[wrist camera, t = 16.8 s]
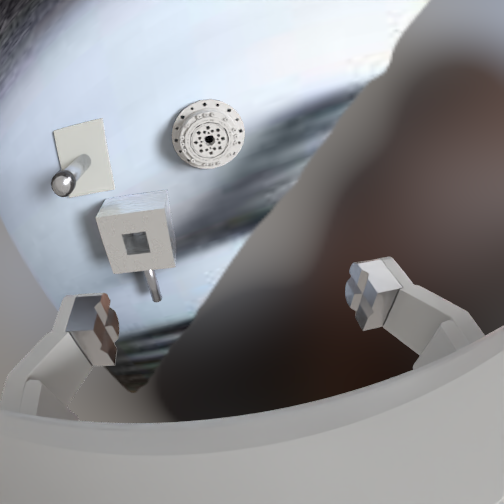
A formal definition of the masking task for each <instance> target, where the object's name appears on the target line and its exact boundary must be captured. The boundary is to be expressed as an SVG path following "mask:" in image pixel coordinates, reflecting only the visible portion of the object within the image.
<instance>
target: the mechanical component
mask: <svg viewBox="0 0 504 504" xmlns="http://www.w3.org/2000/svg"><path fill="white" fill-rule="evenodd" d="M204 102H205V103H206V105H204V106H203V103H204ZM216 104H219V105H218V106H217V105H216ZM192 107H193V109H191V108H192ZM227 109H230V111H229V112H228V111H227ZM182 115H183V116H185V117H184V118H182V117H181V116H182ZM236 119H237V120H236ZM207 126H208V127H207ZM177 127H178V128H177ZM216 129H219V130H216ZM225 129H226V130H225ZM240 129H241V131H239V130H240ZM198 131H199V133H198ZM226 131H227V133H226ZM218 134H219V135H218ZM210 135H212V137H211V138H205V136H210ZM199 137H200V138H199ZM213 137H214V140H213V142H211V143H210V142H208V143H207V142H205V140H206V141H209V140H212V139H213ZM244 137H245V129H244V125H243V121H242V119H241V117H240V116H239V114H238V113H237V112H236V110H235V109H233V108H232V107H231V106H229V105H228V104H227V103H224V102H222V101H219V100H213V99H208V100H199V101H197V102H194V103H192V104H190V105H189V106H187V107H186V108H185V109H183V110H182V112H181V113H180V114H179V115H178V117H177V118H176V121H175V123H174V125H173V129H172V143H173V146H174V149H175V151H176V152H177V154H178V155H179V156H180V158H181V159H182V160H184V161H185V162H186V163H188V164H189V165H191V166H194V167H197V168H201V169H213V168H216V167H219V166H223V165H225V164H226V163H228V162H229V161H231V160H232V159H233V158H234V157H235V156H236V155H237V154H238V152H239V151H240V150H241V147H242V145H243V142H244ZM175 139H178V140H177V141H176V140H175ZM238 141H239V142H238ZM180 150H181V151H180ZM187 158H188V159H187Z"/></svg>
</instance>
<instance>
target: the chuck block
mask: <svg viewBox="0 0 504 504" xmlns="http://www.w3.org/2000/svg"><path fill="white" fill-rule="evenodd" d="M96 222H97V225H98V228H99V231H100V235H101V238H102V241H103V244H104V247H105V250H106V253H107V256H108V259H109V262H110V265H111V267H112V270H113V273H114V274H118V273H127V272H137V271H144V274H145V277H146V281H147V284H148V287H149V290H150V294H151V297H152V300H153V301H154V302H159V301H161V300H162V296H161V292H160V289H159V285H158V281H157V278H156V274H155V269H164V268H173V267H176V239H175V233H174V228H173V222H172V216H171V209H170V203H169V196H168V190H161V191H153V192H146V193H139V194H132V195H125V196H119V197H113V198H107V199H105V201H104V203H103V205H102V206H101V208H100V210H99V212H98V214H97V216H96Z"/></svg>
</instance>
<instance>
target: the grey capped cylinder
mask: <svg viewBox="0 0 504 504" xmlns="http://www.w3.org/2000/svg"><path fill="white" fill-rule="evenodd" d="M90 165H91V158H90V157H89V156H88V155H86V154H81V155H80V156H79V157H77V158H76V159H75V160H74V161H73V162H72V163H71V164H70V165H69V166H68V167H67V168H66V169H65V170H61V171H59V172H58V173H57V174H56V175H55V176H54V177H53V178H52V182H51V186H52V189H53V191H54V192H55V194H57V195H58V196H61V197H66V196H68V195H70V194H71V193H72V191H73V190H74V189H75V186H76V182H77V181H78V179H79V178H80V177H81V176H82V175H83V174H84V173H85V171H86V170H87V169H88V168H89V167H90Z"/></svg>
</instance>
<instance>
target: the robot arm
mask: <svg viewBox="0 0 504 504" xmlns="http://www.w3.org/2000/svg"><path fill="white" fill-rule="evenodd" d="M350 274H351V276H352V277H351V278H350V279H349V280H348V281H347V283H346V288H345V295H346V300H347V303H348V304H349V306H350V308H352V309H354V310H355V311H356V316H355V317H356V319H357V321H358V323H359V325H360V326H361V328H362V330H363V331H364V330H368V329H373V328H377V327H382V326H383V328H385V329H386V330H387V331H389V332H390V333H391V334H393V335H394V336H395V337H397V338H398V339H399V340H400V341H402V342H403V343H404V344H406V345H407V346H408V347H410V348H411V349H412V350H413V351H415V352H416V353H417V354H419V355H420V357H419V358H418V360H417V361H416V362H415V364H414V366H413V369H414V370H412V371H409V372H406V373H404V374H401V375H399V376H396V377H393V378H390V379H388V380H385V381H382V382H379V383H376V384H373V385H370V386H367V387H364V388H361V389H357V390H354V391H351V392H347V393H344V394H340V395H337V396H333V397H330V398H326V399H322V400H318V401H314V402H310V403H305V404H301V405H297V406H292V407H288V408H282V409H277V410H272V411H267V412H261V413H255V414H249V415H242V416H235V417H227V418H219V419H210V420H200V421H188V422H187V421H186V422H170V423H102V422H87V421H79V418H78V417H77V416H76V415H75V414H74V413H73V412H72V411H71V410H70V409H69V408H67V406H68V405H69V403H70V402H71V400H72V399H73V397H74V396H75V394H76V392H77V391H78V389H79V388H80V386H81V385H82V383H83V382H84V380H85V379H86V377H87V376H88V374H89V373H90V371H91V370H92V368H93V367H92V366H112V365H115V361H116V353H117V348H116V346H115V344H114V343H115V341H116V340H117V339H118V338H119V321H118V317H117V315H116V312H115V311H114V310H113V309H112V308H110V307H109V306H110V299H109V297H108V295H107V294H106V293H92V294H78V295H66V296H65V297H64V298H63V300H62V303H61V306H60V309H59V311H58V314H57V318H56V320H55V323H54V326H53V329H52V332H48V333H47V334H46V335H45V336H44V337H43V338H42V339H41V340H40V341H39V342H38V343H37V344H36V345H35V347H33V348H32V349H31V351H29V353H28V354H27V355H26V356H25V357H24V358H23V359H22V360H21V361H20V362H19V363H18V364H17V365H16V366H15V368H14V369H13V370H12V371H11V372H10V373H9V374H8V375H7V378H6V382H5V385H4V389H3V393H2V397H1V401H0V504H504V326H502V327H500V328H498V329H497V330H495V331H493V332H491V333H490V334H488V335H486V336H485V335H484V334H483V332H482V331H481V329H480V328H479V327H478V325H477V324H476V323H475V321H474V320H473V318H472V317H471V316H470V315H469V313H468V312H467V311H465V310H463V309H461V308H460V307H458V306H456V305H454V304H452V303H451V302H449V301H447V300H445V299H443V298H441V297H440V296H437V295H436V294H434V293H432V292H430V291H428V290H426V289H424V288H423V287H421V286H418V285H415V286H414V285H413V283H412V282H411V280H410V279H409V278H408V277H407V275H406V274H405V273H404V272H403V270H402V269H401V268H400V267H399V265H398V264H397V263H396V262H395V261H394V259H393V258H391V257H385V258H380V259H375V260H369V261H362V262H356V263H353V264H352V266H351V268H350Z"/></svg>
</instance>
